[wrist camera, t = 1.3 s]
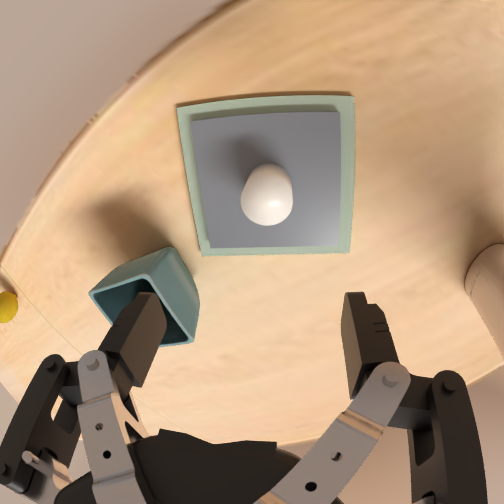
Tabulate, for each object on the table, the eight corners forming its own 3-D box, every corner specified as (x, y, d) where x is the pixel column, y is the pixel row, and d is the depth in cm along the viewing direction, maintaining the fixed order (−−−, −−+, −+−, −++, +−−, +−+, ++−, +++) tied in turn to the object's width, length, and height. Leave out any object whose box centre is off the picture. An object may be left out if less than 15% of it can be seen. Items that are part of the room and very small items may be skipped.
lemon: (26, 299, 42) (4, 325, 36) (22, 309, 45) (2, 333, 38) (9, 279, 41) (-14, 304, 34) (6, 290, 43) (-15, 314, 36)
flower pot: (122, 248, 33) (85, 293, 25) (179, 225, 31) (146, 273, 23) (158, 301, 37) (133, 351, 29) (214, 287, 34) (196, 342, 27)
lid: (338, 111, 22) (351, 115, 18) (336, 240, 29) (345, 270, 24) (193, 120, 24) (172, 127, 19) (212, 243, 31) (199, 273, 26)
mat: (352, 96, 22) (353, 96, 21) (348, 250, 30) (349, 252, 29) (178, 107, 24) (176, 107, 23) (203, 253, 32) (201, 256, 32)
